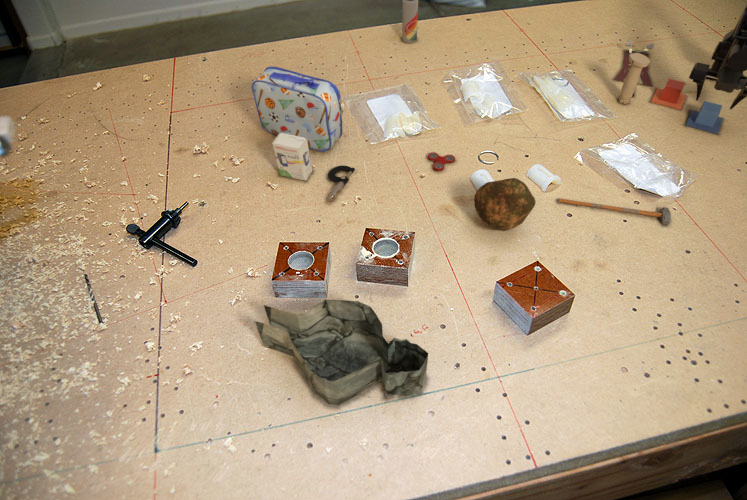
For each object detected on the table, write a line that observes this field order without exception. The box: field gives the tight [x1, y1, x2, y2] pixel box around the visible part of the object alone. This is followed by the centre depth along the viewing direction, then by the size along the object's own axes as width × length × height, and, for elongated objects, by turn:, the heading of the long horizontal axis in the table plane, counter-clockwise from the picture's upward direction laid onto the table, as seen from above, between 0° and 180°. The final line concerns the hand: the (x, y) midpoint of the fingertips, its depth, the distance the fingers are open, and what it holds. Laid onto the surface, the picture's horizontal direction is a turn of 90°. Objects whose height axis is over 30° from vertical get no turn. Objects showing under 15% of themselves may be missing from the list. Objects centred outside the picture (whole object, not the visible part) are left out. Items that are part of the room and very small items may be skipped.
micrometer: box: [326, 165, 356, 203], centre depth 146 cm, size 15×7×2 cm, turn 154°
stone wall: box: [254, 298, 429, 406], centre depth 105 cm, size 35×19×10 cm, turn 71°
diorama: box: [613, 39, 655, 97], centre depth 180 cm, size 12×35×5 cm, turn 159°
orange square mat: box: [650, 87, 687, 110], centre depth 169 cm, size 9×9×1 cm
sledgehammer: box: [558, 198, 672, 226], centre depth 136 cm, size 27×2×5 cm
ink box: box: [271, 133, 313, 181], centre depth 146 cm, size 9×5×12 cm, turn 70°
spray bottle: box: [401, 0, 419, 44], centre depth 194 cm, size 6×6×20 cm
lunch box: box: [251, 66, 346, 153], centre depth 153 cm, size 28×10×22 cm, turn 65°
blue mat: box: [685, 109, 724, 135], centre depth 161 cm, size 9×9×1 cm
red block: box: [659, 78, 686, 104], centre depth 167 cm, size 5×5×5 cm
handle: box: [618, 53, 651, 105], centre depth 164 cm, size 5×6×15 cm
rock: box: [473, 177, 537, 232], centre depth 129 cm, size 13×13×15 cm
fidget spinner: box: [427, 151, 456, 172], centre depth 151 cm, size 8×7×1 cm
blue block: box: [695, 100, 723, 127], centre depth 159 cm, size 5×5×5 cm
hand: (713, 104), depth 156 cm, fingers open, 9 cm apart
